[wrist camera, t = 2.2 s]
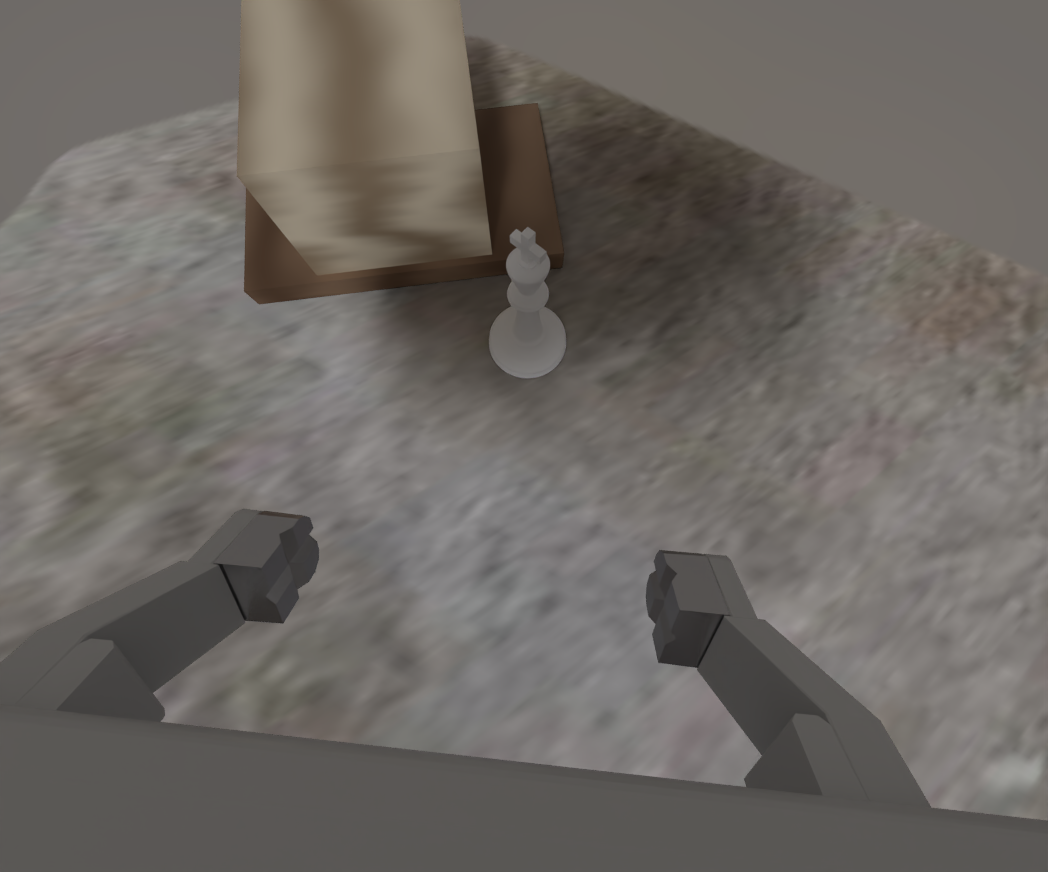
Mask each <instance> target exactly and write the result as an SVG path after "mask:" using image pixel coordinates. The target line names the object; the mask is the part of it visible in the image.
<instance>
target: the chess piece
mask: <svg viewBox="0 0 1048 872" xmlns="http://www.w3.org/2000/svg"><path fill="white" fill-rule="evenodd" d="M535 237H536V232H534V231H533V230H532V229H530V228H529V227H527V228H526V229H525V230H524V231H523V232H522V233H521V232H520V231H519V230H517V229H516V230H515V231H514V232H513V233H512V234H511V235H510V243H512V244H513V245H514V246H516V247H517V248H515V249H514V250H513V251H512V252H511V253H510V254H509V256H508V258H507V261H506V269H507V273H508V275H509V277H510V278H511V280H512V281H511V283H510V285H509V287H508V290H507V298H508V301H509V303H510V305H511V307H509V308H507V309H505V310H504V311H503V312H501V313H500V314H499V315H498V316H497V318H496V319H495V321H494V322H493V324H492V327H491V329H490V334H489V350H490V353H491V356H492V358H493V360H494V361H495V363H496V364H497V365H498V366H499V367H500V368H501V369H502V370H503V371H505V372H506V373H508V374H510V375H512V376H515V377H519V378H536V377H540V376H543V375H545V374H547V373H549V372H550V371H552V370H553V369H554V368H555V367H556V366H557V365H558V364H559V363H560V361H561V360H562V358H563V356H564V353H565V350H566V333H565V329H564V326H563V324H562V322H561V320H560V319H559V317H558V316H557V315H556V314H555V313H554V312H553V311H551V310H550V309H548V308H546V307H544V306H545V304H546V303H547V301H548V298H549V290H548V287H547V285H546V283H545V281H544V280H545V278H546V277H547V275H548V273H549V270H550V260H549V257H548V255H547V251H545V250H544V249H543V248H541V247H540V246H539V245H537V244H536V243H535Z"/></svg>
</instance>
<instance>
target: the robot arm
mask: <svg viewBox="0 0 1048 872" xmlns="http://www.w3.org/2000/svg"><path fill="white" fill-rule="evenodd" d="M312 529H313V525H312V522H311V519H310V518H309V517H307V516H302V515H294V514H286V513H278V512H270V511H258V510H250V509H242V510H239V511H237V512H235V513H234V514H233V515H232V516H231V517H230V518H229V519H228V520H227V521H226V522H225V524H224V525H223V526H222V527H221V528H220V529H219V530H218V531H217V532H216V533H215V534H214V535H213V536H212V537H211V538H210V539H209V540H208V541H207V542H206V543H205V544H204V545H203V546H202V547H201V548H200V549H199V550H198V551H197V552H196V553H195V554H194V556H193V557H192V558H191V559H190V560H189V561H180V562H178V563H175V564H173V565H171V566H169V567H167V568H165V569H163V570H161V571H159V572H157V573H155V574H153V575H151V576H149V577H147V578H145V579H142V580H140V581H138V582H136V583H134V584H132V585H130V586H128V587H126V588H124V589H122V590H120V591H118V592H116V593H114V594H111V595H109V596H107V597H105V598H103V599H101V600H99V601H97V602H95V603H93V604H91V605H89V606H87V607H85V608H83V609H81V610H78V611H76V612H74V613H72V614H70V615H68V616H66V617H64V618H62V619H60V620H58V621H56V622H54V623H52V624H50V625H47V626H45V627H43V628H41V629H39V630H37V631H36V632H35V633H34V634H33V635H32V636H31V637H29V638H28V639H27V640H26V641H25V642H24V643H22V644H21V645H20V646H19V647H18V648H17V649H16V650H14V651H13V652H12V653H11V654H10V655H9V656H8V657H6V658H5V659H4V660H3V661H2V662H1V663H0V872H1048V821H1047V820H1038V819H1029V818H1020V817H1011V816H1002V815H993V814H984V813H975V812H966V811H957V810H948V809H939V808H931V806H930V804H929V803H928V801H927V799H926V798H925V796H924V794H923V792H922V791H921V789H920V787H919V786H918V784H917V782H916V781H915V779H914V777H913V775H912V774H911V772H910V770H909V769H908V767H907V765H906V764H905V762H904V760H903V758H902V757H901V755H900V753H899V752H898V750H897V748H896V747H895V745H894V743H893V741H892V740H891V738H890V736H889V735H888V733H887V731H886V730H885V728H884V726H883V724H882V723H881V721H880V720H879V719H878V718H877V717H875V716H874V715H873V714H872V713H871V712H870V711H869V710H867V709H866V708H865V707H864V706H863V705H862V704H861V703H859V702H858V701H857V700H856V699H855V698H854V697H853V696H851V695H850V694H849V693H848V692H847V691H846V690H845V689H843V688H842V687H841V686H840V685H839V684H838V683H836V682H835V681H834V680H833V679H832V678H831V677H830V676H828V675H827V674H826V673H825V672H824V671H823V670H822V669H820V668H819V667H818V666H817V665H816V664H815V663H814V662H812V661H811V660H810V659H809V658H808V657H807V656H806V655H804V654H803V653H802V652H801V651H800V650H799V649H798V648H796V647H795V646H794V645H793V644H792V643H791V642H790V641H788V640H787V639H786V638H785V637H784V636H783V635H782V634H780V633H779V632H778V631H777V630H776V629H775V628H773V627H772V626H771V625H770V624H769V623H768V622H767V621H765V620H761V619H757V616H756V614H755V612H754V610H753V608H752V605H751V603H750V601H749V599H748V597H747V595H746V592H745V590H744V588H743V586H742V584H741V581H740V579H739V577H738V575H737V573H736V571H735V568H734V566H733V564H732V562H731V560H730V559H729V558H728V557H727V556H722V555H711V554H699V553H688V552H676V551H665V550H659V551H658V553H657V554H656V557H655V560H654V564H655V569H656V571H654V572H653V573H651V574H650V575H649V578H648V582H647V587H646V605H647V611H648V616H649V617H650V618H651V619H652V621H653V622H654V623H655V624H656V625H655V628H654V630H653V633H652V636H653V641H654V645H655V650H656V655H657V659H658V663H664V664H672V665H679V666H687V667H695V668H698V669H697V670H698V672H699V673H700V674H701V676H702V677H703V678H704V680H705V681H706V682H707V684H708V685H709V686H710V688H711V689H712V690H713V692H714V693H715V694H716V695H717V697H718V698H719V699H720V701H721V702H722V703H723V705H724V706H725V707H726V709H727V710H728V711H729V713H730V714H731V715H732V717H733V718H734V719H735V721H736V722H737V723H738V724H739V726H740V727H741V728H742V730H743V731H744V732H745V734H746V735H747V736H748V738H749V739H750V740H751V742H752V743H753V744H754V746H755V747H756V748H757V750H758V751H759V752H760V753H761V755H762V756H761V758H760V759H759V760H758V761H757V763H756V764H755V765H754V766H753V768H752V769H751V770H750V771H749V773H748V774H747V776H746V777H745V778H744V781H745V784H746V787H741V786H731V785H722V784H713V783H704V782H695V781H687V780H678V779H669V778H660V777H651V776H642V775H633V774H624V773H615V772H606V771H597V770H588V769H579V768H570V767H561V766H552V765H543V764H534V763H525V762H516V761H507V760H499V759H490V758H481V757H472V756H463V755H454V754H445V753H436V752H427V751H418V750H409V749H400V748H391V747H382V746H373V745H364V744H355V743H346V742H337V741H328V740H319V739H310V738H301V737H292V736H283V735H274V734H265V733H256V732H247V731H238V730H229V729H220V728H211V727H202V726H193V725H184V724H175V723H166V722H161V720H162V719H163V718H164V716H165V710H164V707H163V706H162V705H161V703H160V702H159V701H158V699H157V698H156V697H155V695H154V694H153V692H155V691H156V690H157V689H159V688H160V687H161V686H163V685H164V684H165V683H167V682H168V681H169V680H171V679H172V678H173V677H175V676H176V675H177V674H179V673H180V672H181V671H182V670H184V669H185V668H186V667H188V666H189V665H190V664H192V663H193V662H194V661H196V660H197V659H198V658H200V657H201V656H202V655H204V654H205V653H206V652H208V651H209V650H210V649H212V648H213V647H214V646H215V645H217V644H218V643H219V642H221V641H222V640H223V639H225V638H226V637H227V636H229V635H230V634H231V633H233V632H234V631H235V630H237V629H238V628H239V627H241V626H242V625H243V624H245V621H256V622H269V623H282V624H283V623H284V622H285V620H286V618H287V617H288V615H289V614H290V612H291V610H292V609H293V607H294V605H295V604H296V602H297V601H298V599H299V594H298V589H299V588H300V587H302V586H303V585H305V584H306V583H308V582H309V581H310V579H311V578H312V576H313V574H314V573H315V570H316V567H317V564H318V560H319V547H318V543H317V541H316V540H315V539H313V538H312V537H311V536H310V535H309V534H310V532H311V531H312Z"/></svg>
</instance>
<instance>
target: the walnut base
mask: <svg viewBox="0 0 1048 872" xmlns="http://www.w3.org/2000/svg"><path fill="white" fill-rule="evenodd" d="M239 79H240V80H239V81H240V82H239V115H238V152H237V177H238V178H239V179H240V181H241V182H242V183H243V184H244V186H245V187H246V222H245V271H244V292H245V293H247V294H248V295H249V296H250V297H251V298H252V299H253V300H255V301H256V302H257V303H258V304H266V303H274V302H282V301H290V300H299V299H307V298H315V297H323V296H331V295H340V294H348V293H356V292H364V291H373V290H381V289H389V288H397V287H406V286H414V285H422V284H430V283H439V282H447V281H455V280H463V279H472V278H480V277H488V276H496V275H505V274H508V273H507V269H506V261H507V258H508V256H509V254H510V253H511V252H512V251H513V250H514V249H515V248H517V247H516V246H514V245H513V244H512V243H510V235H511V234H512V233H513V232H514V231H515V230H516V229H517V230H519V231H520V232H521V233H522V232H523V231H524V230H525V229H526V228H527V227H529V228H530V229H532V230H533V231H534V232H536V237H535V243H536V244H537V245H539V246H540V247H541V248H543V249H544V250H545V251H547V255H548V257H549V260H550V269H554V268H562V265H563V258H564V249H563V243H562V238H561V232H560V227H559V221H558V215H557V210H556V204H555V198H554V193H553V187H552V181H551V176H550V170H549V165H548V159H547V153H546V148H545V142H544V136H543V131H542V125H541V119H540V114H539V108H538V103H533V104H524V105H515V106H506V107H497V108H488V109H479V110H474V104H473V97H472V89H471V82H470V74H469V67H468V59H467V52H466V44H465V37H464V30H463V22H462V14H461V7H460V0H242V1H241V40H240V77H239Z"/></svg>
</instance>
